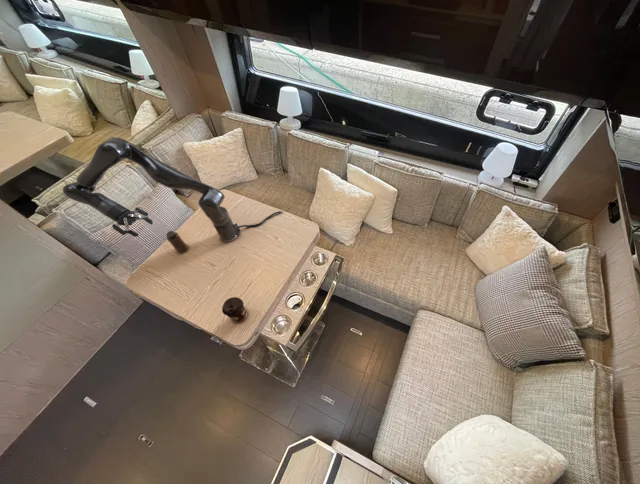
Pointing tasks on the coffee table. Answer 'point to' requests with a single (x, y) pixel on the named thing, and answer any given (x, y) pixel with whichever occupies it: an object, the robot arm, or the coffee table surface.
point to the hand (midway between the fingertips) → (145, 229)
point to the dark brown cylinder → (234, 309)
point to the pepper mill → (176, 241)
